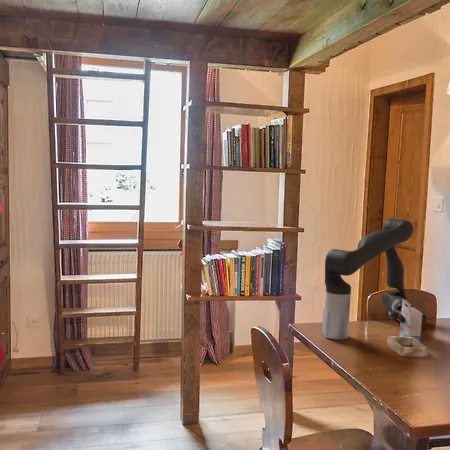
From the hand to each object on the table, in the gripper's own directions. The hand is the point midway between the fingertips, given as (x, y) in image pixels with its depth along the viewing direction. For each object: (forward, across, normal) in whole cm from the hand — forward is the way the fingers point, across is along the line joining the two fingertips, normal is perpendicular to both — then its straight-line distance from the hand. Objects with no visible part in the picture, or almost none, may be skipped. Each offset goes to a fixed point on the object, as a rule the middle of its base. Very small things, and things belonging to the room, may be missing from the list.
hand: (412, 321), depth 189 cm
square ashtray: (+10, -4, +8) cm, 14 cm away
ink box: (-2, 0, +8) cm, 9 cm away
